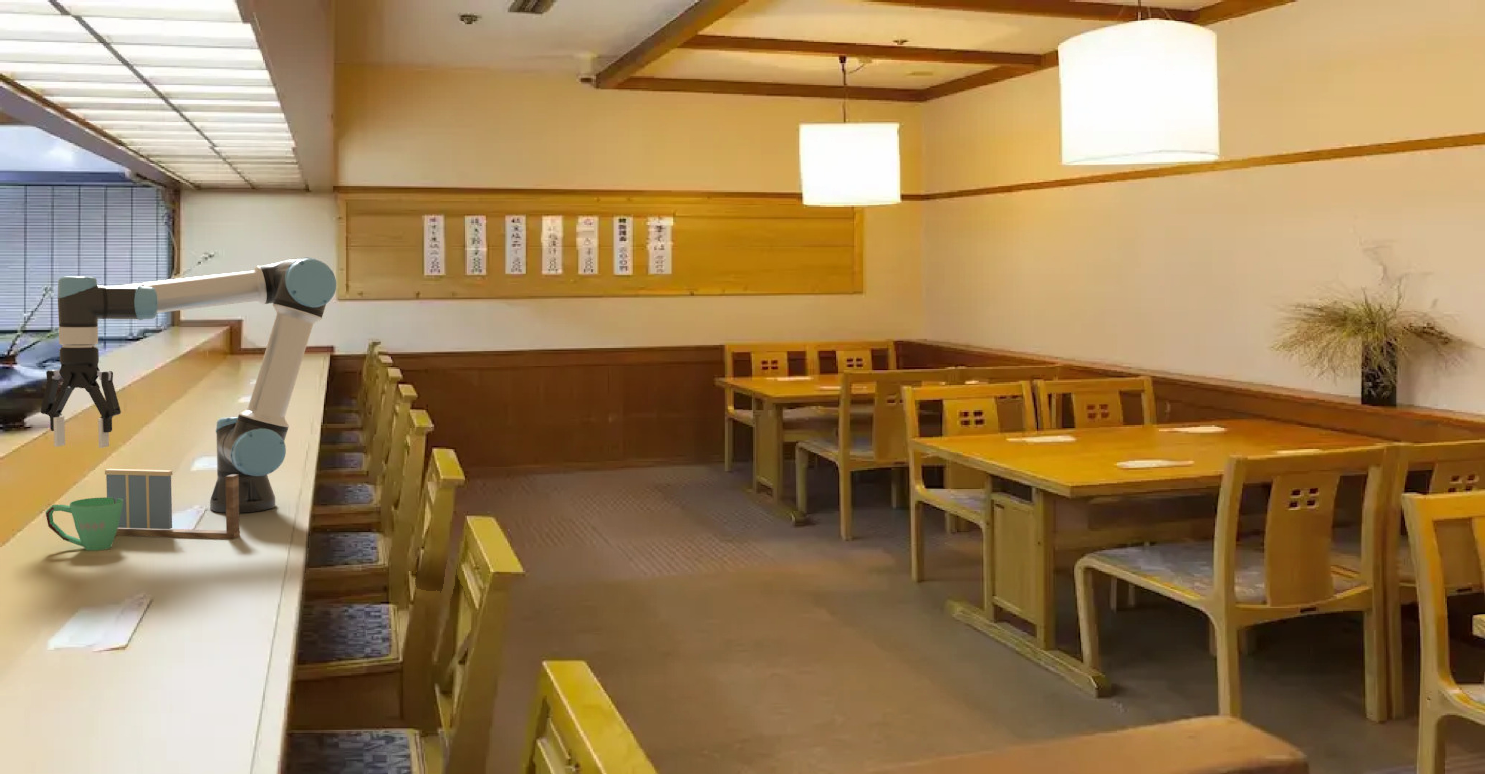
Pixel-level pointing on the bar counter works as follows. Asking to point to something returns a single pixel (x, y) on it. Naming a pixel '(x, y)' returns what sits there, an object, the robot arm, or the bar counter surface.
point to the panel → (142, 497)
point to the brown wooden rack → (229, 533)
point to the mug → (90, 521)
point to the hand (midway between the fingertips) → (81, 446)
